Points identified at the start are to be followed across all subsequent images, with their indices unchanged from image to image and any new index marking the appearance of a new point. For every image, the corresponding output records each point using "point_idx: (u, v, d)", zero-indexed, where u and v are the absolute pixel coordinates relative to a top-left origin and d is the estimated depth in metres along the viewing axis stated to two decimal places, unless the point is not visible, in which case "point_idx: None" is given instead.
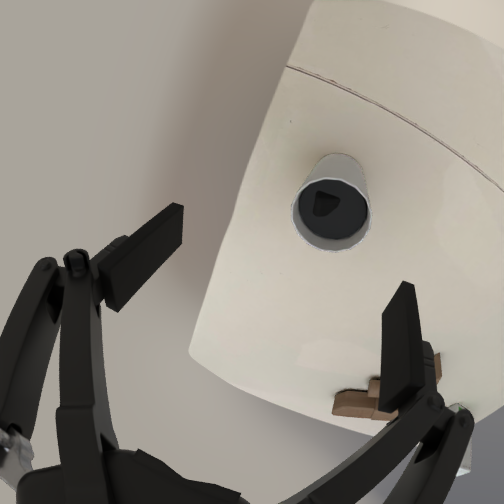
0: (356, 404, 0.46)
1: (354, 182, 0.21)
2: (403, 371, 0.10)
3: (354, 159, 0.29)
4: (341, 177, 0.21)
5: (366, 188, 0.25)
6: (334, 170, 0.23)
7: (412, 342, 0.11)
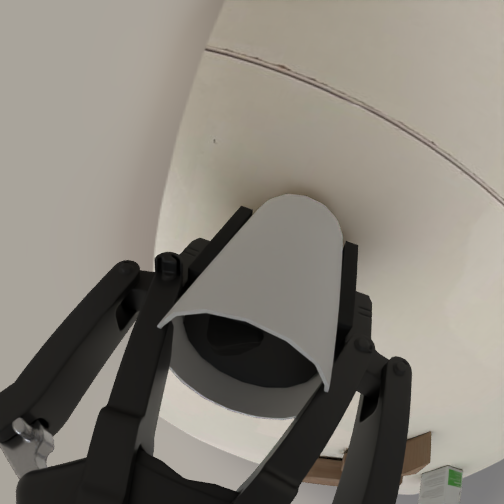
0: (327, 475, 0.35)
1: (289, 318, 0.08)
2: None
3: (324, 206, 0.16)
4: (249, 313, 0.08)
5: (336, 288, 0.12)
6: (250, 269, 0.10)
7: (344, 290, 0.13)
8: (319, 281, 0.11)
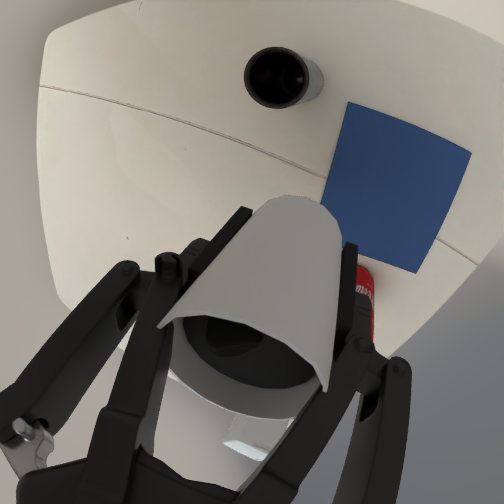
0: None
1: (287, 319, 0.08)
2: None
3: (323, 207, 0.16)
4: (248, 315, 0.08)
5: (335, 290, 0.12)
6: (249, 271, 0.10)
7: (344, 290, 0.13)
8: (318, 283, 0.11)
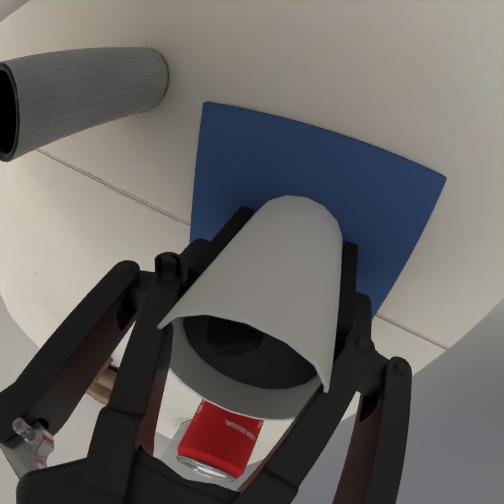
0: None
1: (289, 319, 0.08)
2: None
3: (324, 207, 0.16)
4: (249, 315, 0.08)
5: (335, 290, 0.12)
6: (250, 271, 0.10)
7: (344, 290, 0.13)
8: (318, 282, 0.11)
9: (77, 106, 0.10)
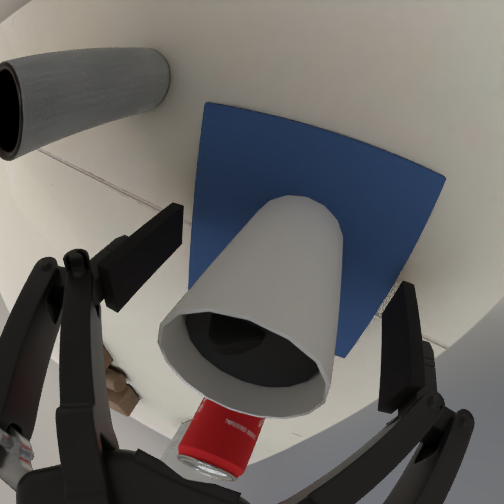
0: None
1: (291, 316, 0.09)
2: (403, 371, 0.10)
3: (324, 207, 0.16)
4: (252, 312, 0.08)
5: (336, 288, 0.12)
6: (252, 269, 0.10)
7: (412, 342, 0.11)
8: (320, 281, 0.11)
9: (80, 106, 0.10)
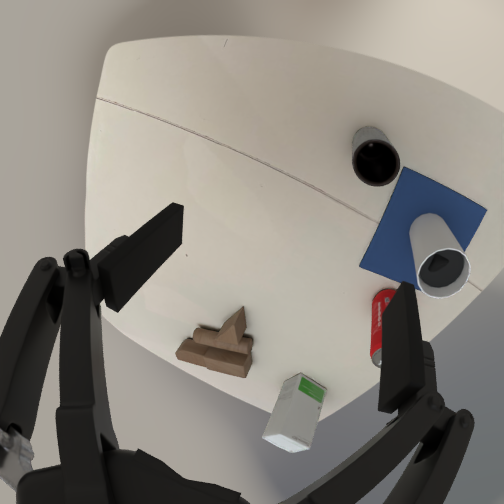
0: (189, 350, 0.60)
1: (463, 251, 0.25)
2: (403, 371, 0.10)
3: None
4: (458, 248, 0.25)
5: None
6: (447, 239, 0.27)
7: (412, 342, 0.11)
8: None
9: None
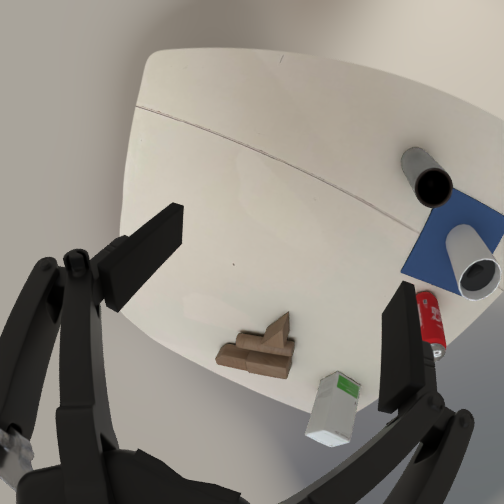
0: (231, 355, 0.63)
1: (495, 260, 0.27)
2: (403, 371, 0.10)
3: (474, 229, 0.34)
4: (492, 258, 0.26)
5: None
6: (483, 249, 0.28)
7: (412, 342, 0.11)
8: None
9: None
